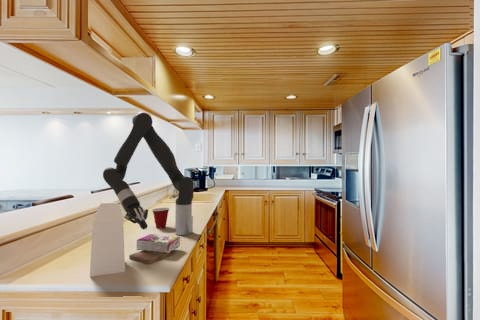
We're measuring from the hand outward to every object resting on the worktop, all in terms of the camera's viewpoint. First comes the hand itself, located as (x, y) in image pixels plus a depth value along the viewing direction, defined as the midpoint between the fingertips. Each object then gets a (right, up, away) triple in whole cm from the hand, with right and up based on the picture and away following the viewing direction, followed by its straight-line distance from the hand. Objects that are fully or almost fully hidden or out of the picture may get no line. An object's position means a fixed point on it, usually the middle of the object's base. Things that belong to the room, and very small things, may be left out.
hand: (145, 228), depth 128 cm
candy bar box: (-2, -7, +2) cm, 7 cm away
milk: (-8, -11, -20) cm, 24 cm away
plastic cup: (-6, -11, +45) cm, 47 cm away
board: (+5, -11, -7) cm, 14 cm away
